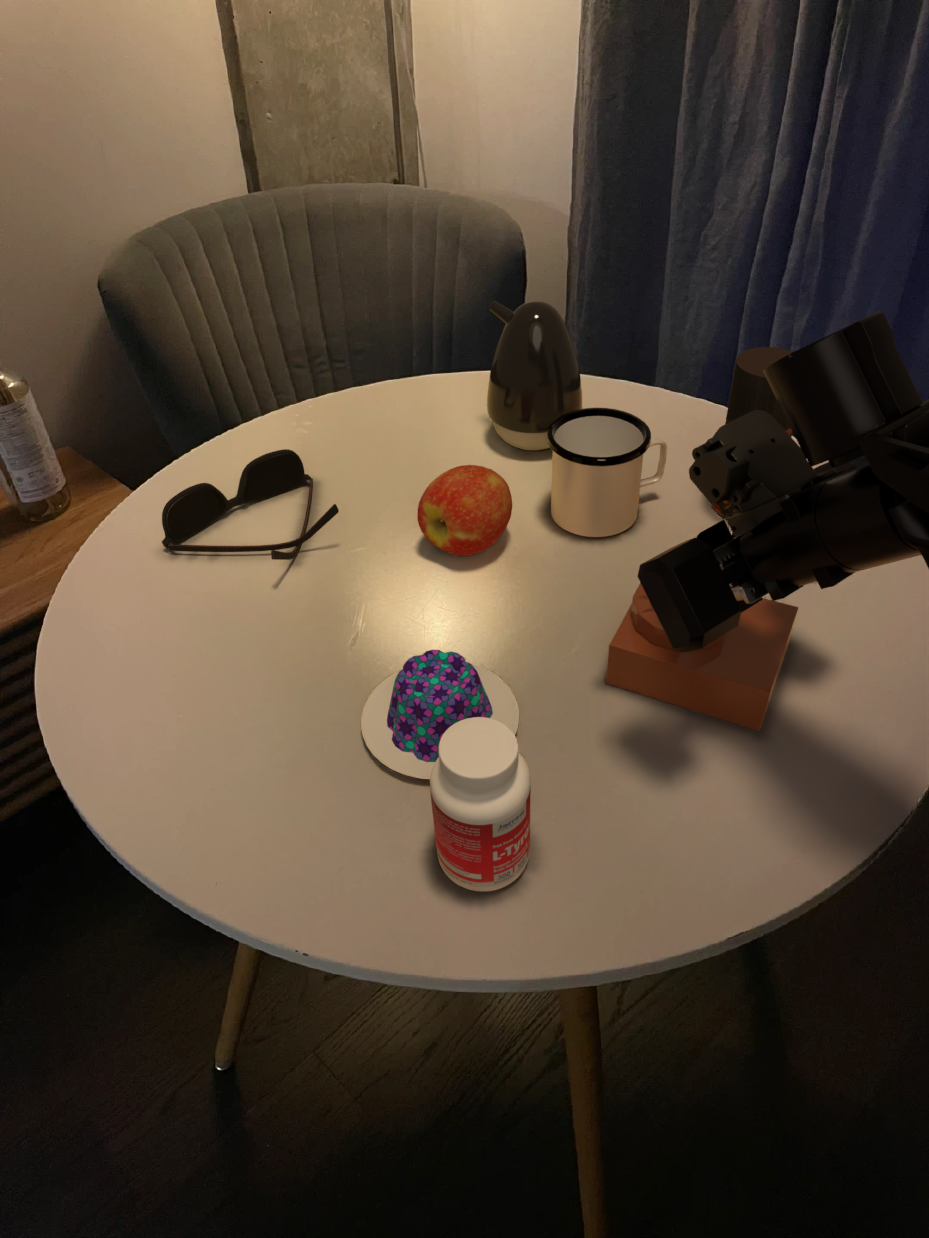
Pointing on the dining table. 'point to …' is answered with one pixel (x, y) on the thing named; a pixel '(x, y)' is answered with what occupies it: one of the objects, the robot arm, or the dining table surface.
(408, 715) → the pudding
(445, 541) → the apple
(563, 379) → the pump dispenser
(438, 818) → the pill bottle
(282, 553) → the sunglasses
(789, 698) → the dining table surface
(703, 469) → the robot arm
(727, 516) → the deodorant
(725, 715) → the button housing
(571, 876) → the dining table surface
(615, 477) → the mug
